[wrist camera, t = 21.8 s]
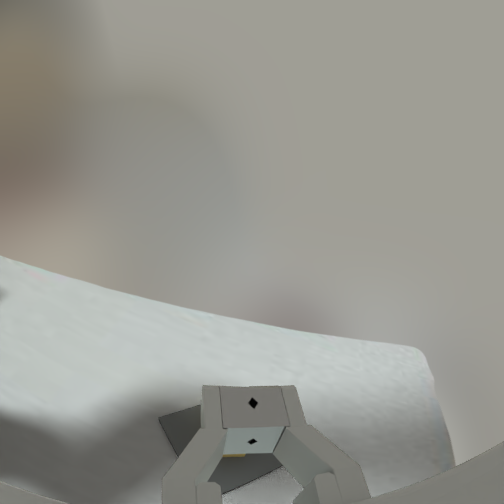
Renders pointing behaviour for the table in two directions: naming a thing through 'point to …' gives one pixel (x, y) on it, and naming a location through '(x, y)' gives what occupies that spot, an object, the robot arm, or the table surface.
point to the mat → (229, 468)
